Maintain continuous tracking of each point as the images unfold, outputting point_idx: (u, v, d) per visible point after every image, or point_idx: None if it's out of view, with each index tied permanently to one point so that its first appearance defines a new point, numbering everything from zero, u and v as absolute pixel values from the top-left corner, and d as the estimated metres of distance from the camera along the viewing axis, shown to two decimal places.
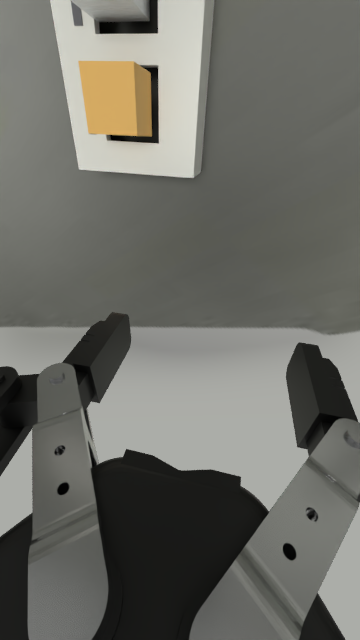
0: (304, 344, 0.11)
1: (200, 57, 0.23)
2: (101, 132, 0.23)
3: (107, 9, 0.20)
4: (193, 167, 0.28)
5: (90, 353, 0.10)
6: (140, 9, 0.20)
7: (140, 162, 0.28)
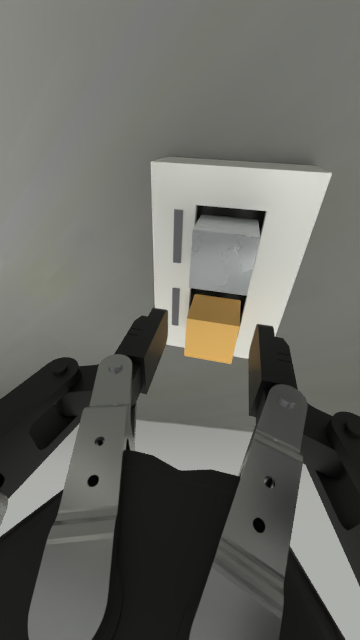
0: (261, 325, 0.11)
1: (288, 294, 0.25)
2: (197, 357, 0.26)
3: None
4: None
5: (141, 345, 0.10)
6: None
7: None
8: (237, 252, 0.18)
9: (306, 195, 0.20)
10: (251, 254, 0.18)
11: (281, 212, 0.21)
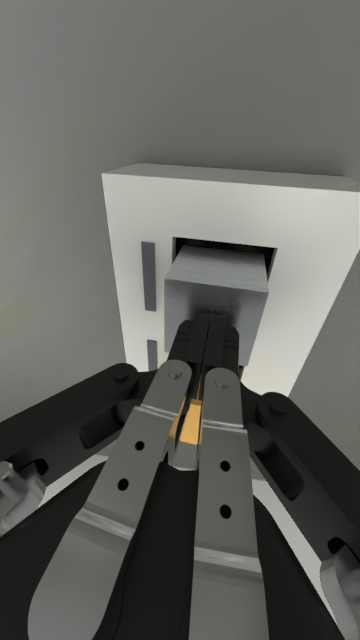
0: (215, 315, 0.12)
1: (306, 355, 0.18)
2: None
3: None
4: None
5: (195, 351, 0.10)
6: None
7: None
8: (232, 312, 0.12)
9: (340, 227, 0.13)
10: (255, 316, 0.12)
11: (300, 251, 0.14)
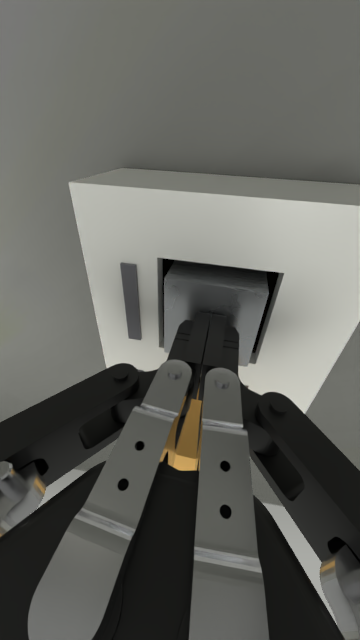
0: (215, 315, 0.12)
1: (315, 391, 0.15)
2: None
3: None
4: None
5: (195, 351, 0.10)
6: None
7: None
8: (232, 312, 0.12)
9: None
10: (255, 316, 0.12)
11: (312, 277, 0.11)
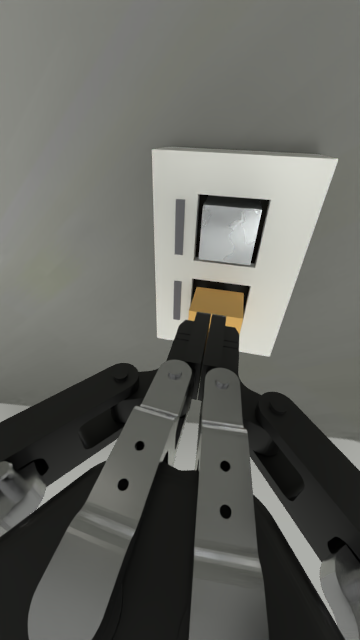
0: (215, 315, 0.12)
1: (293, 286, 0.24)
2: None
3: None
4: (271, 349, 0.29)
5: (195, 351, 0.10)
6: None
7: None
8: (241, 224, 0.21)
9: (311, 182, 0.19)
10: (254, 226, 0.21)
11: (286, 201, 0.20)
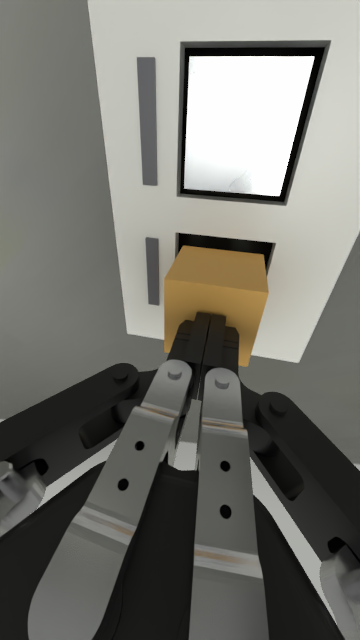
0: (215, 315, 0.12)
1: (353, 240, 0.14)
2: None
3: None
4: (301, 352, 0.19)
5: (195, 351, 0.10)
6: None
7: None
8: (268, 101, 0.10)
9: None
10: (294, 104, 0.10)
11: None
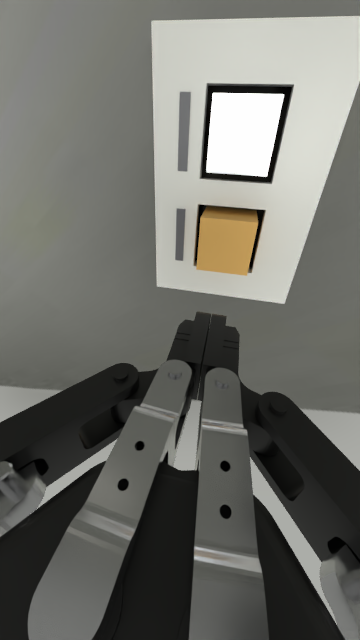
0: (215, 315, 0.12)
1: (315, 207, 0.21)
2: (210, 270, 0.24)
3: None
4: (286, 294, 0.26)
5: (195, 351, 0.10)
6: None
7: (227, 286, 0.27)
8: (258, 118, 0.18)
9: (346, 54, 0.16)
10: (274, 120, 0.18)
11: (313, 85, 0.17)
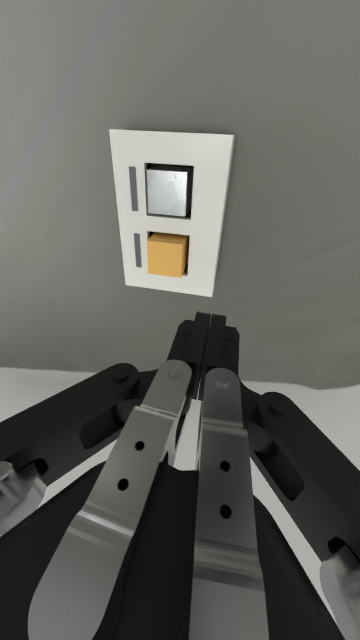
0: (215, 315, 0.12)
1: (219, 234, 0.33)
2: (157, 274, 0.36)
3: None
4: (212, 290, 0.38)
5: (195, 351, 0.10)
6: (188, 211, 0.33)
7: (172, 285, 0.39)
8: (175, 184, 0.29)
9: (219, 152, 0.28)
10: (183, 185, 0.29)
11: (204, 166, 0.29)
